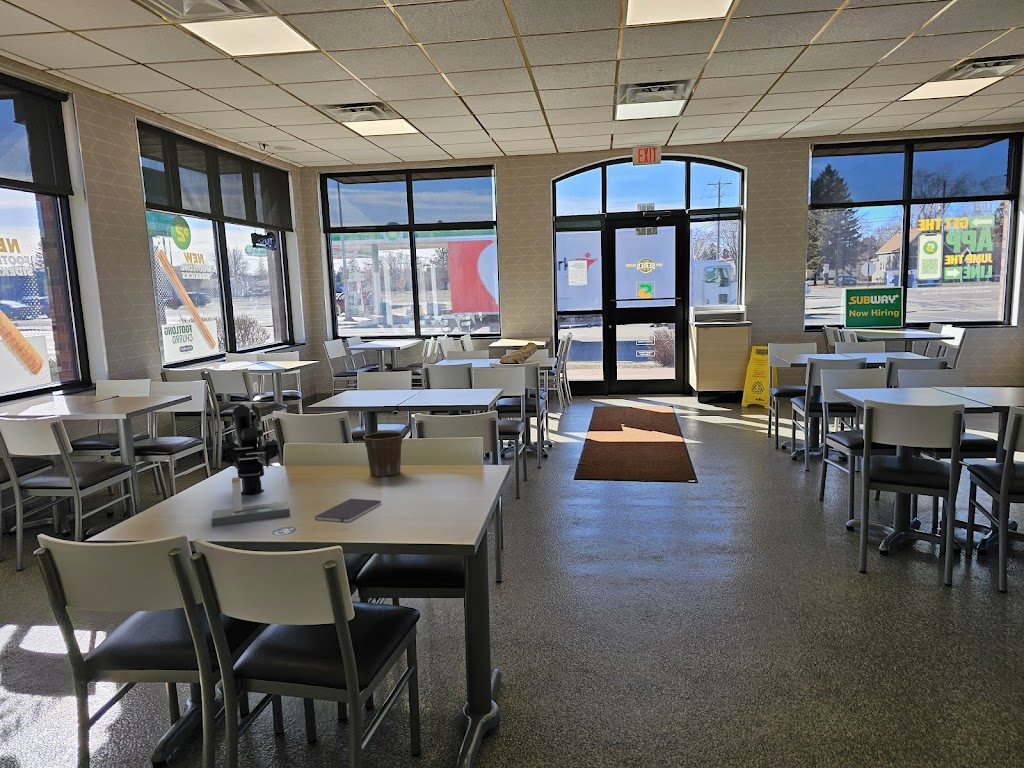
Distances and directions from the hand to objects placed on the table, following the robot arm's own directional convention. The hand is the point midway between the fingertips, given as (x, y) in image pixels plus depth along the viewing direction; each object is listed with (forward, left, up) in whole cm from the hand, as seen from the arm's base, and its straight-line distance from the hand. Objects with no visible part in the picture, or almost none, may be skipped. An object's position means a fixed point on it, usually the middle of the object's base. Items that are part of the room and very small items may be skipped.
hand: (253, 468), depth 240 cm
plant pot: (+14, +57, -15) cm, 61 cm away
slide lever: (+1, -9, -12) cm, 15 cm away
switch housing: (+4, -6, -15) cm, 17 cm away
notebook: (+33, +9, -16) cm, 37 cm away
